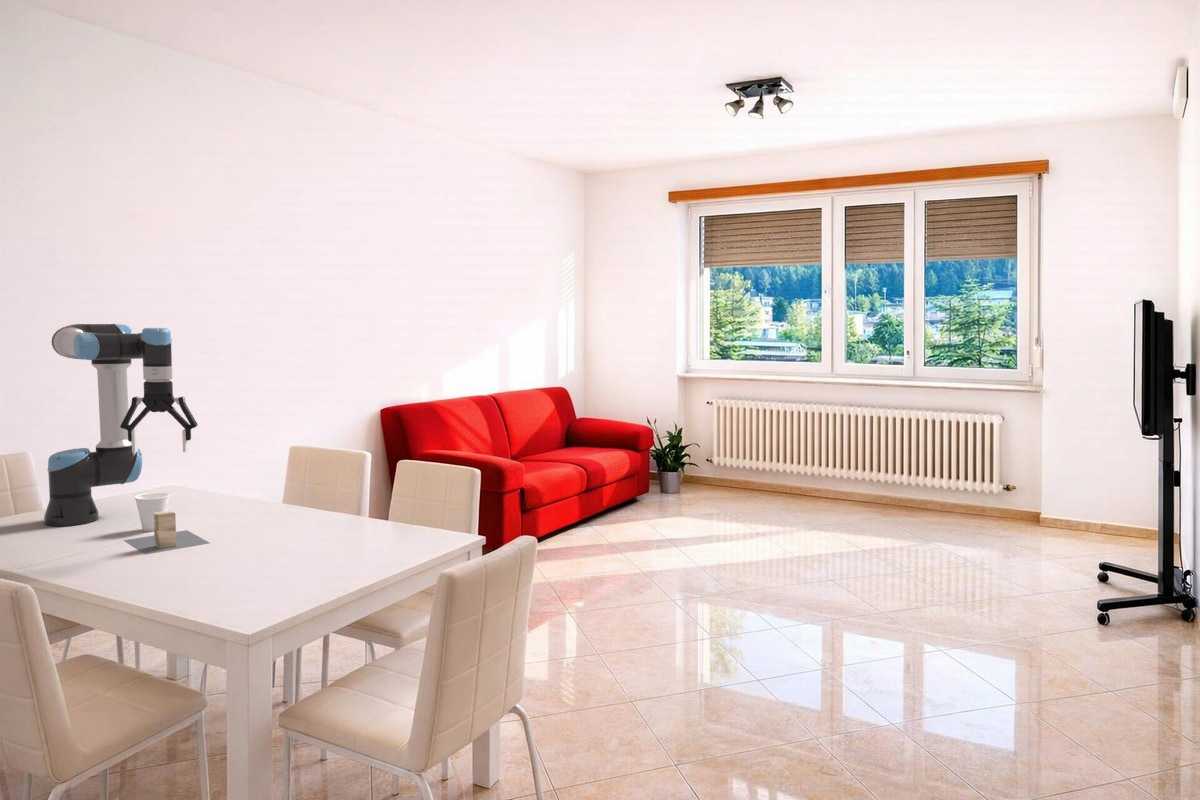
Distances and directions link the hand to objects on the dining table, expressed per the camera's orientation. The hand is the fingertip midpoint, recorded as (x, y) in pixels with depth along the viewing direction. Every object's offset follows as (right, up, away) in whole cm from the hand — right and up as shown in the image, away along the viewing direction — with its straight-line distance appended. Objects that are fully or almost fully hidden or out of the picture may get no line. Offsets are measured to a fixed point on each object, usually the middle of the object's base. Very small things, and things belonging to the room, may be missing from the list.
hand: (160, 451), depth 247 cm
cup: (-12, -26, +18) cm, 34 cm away
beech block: (+2, -28, -2) cm, 28 cm away
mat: (0, -28, +3) cm, 28 cm away
